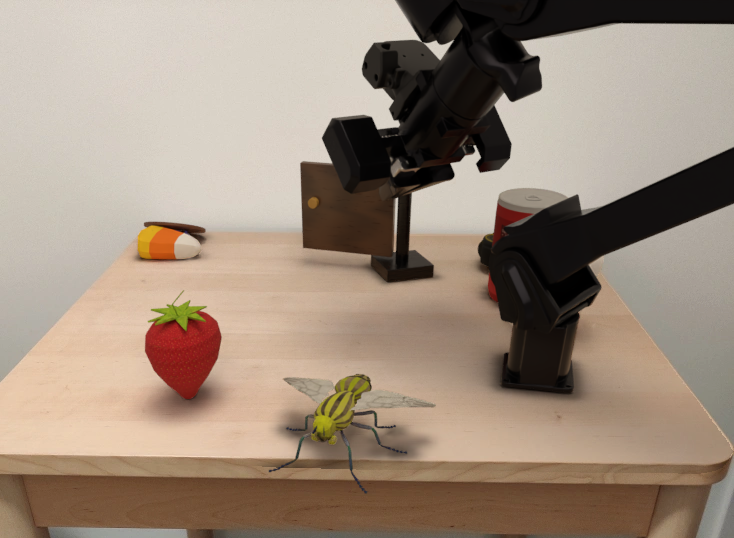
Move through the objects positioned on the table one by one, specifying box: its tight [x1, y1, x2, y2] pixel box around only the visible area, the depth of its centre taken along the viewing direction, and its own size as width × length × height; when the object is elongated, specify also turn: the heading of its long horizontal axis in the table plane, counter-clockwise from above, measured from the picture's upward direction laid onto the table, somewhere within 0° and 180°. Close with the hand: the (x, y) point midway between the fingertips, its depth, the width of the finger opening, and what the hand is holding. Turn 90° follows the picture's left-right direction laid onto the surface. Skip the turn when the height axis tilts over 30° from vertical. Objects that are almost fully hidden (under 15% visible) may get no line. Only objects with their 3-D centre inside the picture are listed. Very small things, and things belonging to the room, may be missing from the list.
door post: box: [370, 192, 435, 283], centre depth 89 cm, size 6×6×12 cm
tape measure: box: [477, 232, 494, 268], centre depth 93 cm, size 7×7×4 cm
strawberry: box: [144, 289, 223, 400], centre depth 63 cm, size 6×8×10 cm
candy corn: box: [136, 226, 202, 260], centre depth 96 cm, size 6×3×8 cm
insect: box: [268, 373, 437, 495], centre depth 59 cm, size 13×11×5 cm
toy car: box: [143, 221, 207, 236], centre depth 101 cm, size 8×8×2 cm
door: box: [299, 160, 397, 257], centre depth 90 cm, size 12×2×10 cm, turn 74°
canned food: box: [487, 187, 569, 304], centre depth 83 cm, size 8×8×11 cm
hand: (383, 197), depth 77 cm, fingers closed
